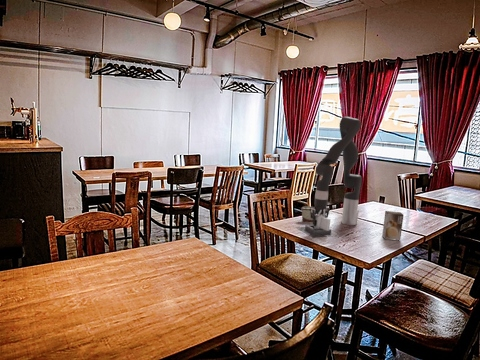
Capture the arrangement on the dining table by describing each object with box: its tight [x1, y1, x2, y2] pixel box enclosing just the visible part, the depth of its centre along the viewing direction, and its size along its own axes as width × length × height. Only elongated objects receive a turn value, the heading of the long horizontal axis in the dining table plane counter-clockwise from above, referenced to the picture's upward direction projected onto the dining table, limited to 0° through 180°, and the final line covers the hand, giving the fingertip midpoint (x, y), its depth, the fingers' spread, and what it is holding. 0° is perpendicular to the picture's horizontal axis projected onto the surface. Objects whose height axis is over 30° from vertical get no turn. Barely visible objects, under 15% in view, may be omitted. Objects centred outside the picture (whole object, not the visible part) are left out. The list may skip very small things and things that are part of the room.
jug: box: [314, 214, 331, 231], centre depth 220 cm, size 11×5×10 cm, turn 33°
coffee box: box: [382, 210, 404, 241], centre depth 221 cm, size 9×6×16 cm
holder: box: [295, 224, 342, 239], centre depth 223 cm, size 20×20×4 cm
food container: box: [300, 205, 315, 223], centre depth 245 cm, size 12×6×10 cm, turn 84°
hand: (318, 225), depth 222 cm, fingers open, 5 cm apart
